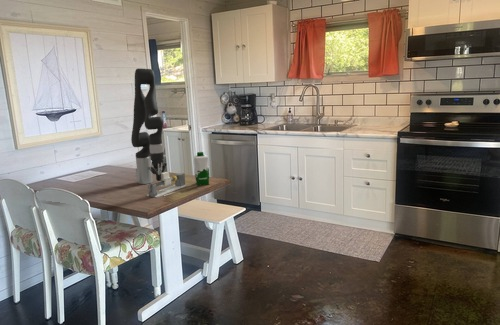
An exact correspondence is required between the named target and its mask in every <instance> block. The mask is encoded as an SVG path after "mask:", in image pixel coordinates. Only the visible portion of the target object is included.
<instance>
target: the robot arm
mask: <svg viewBox="0 0 500 325" xmlns="http://www.w3.org/2000/svg"><path fill="white" fill-rule="evenodd" d="M155 77H156V76H155V71H154V70H153V69H151V68H136V69H135V71H134V98H133V99H134V103H133V118H132V119H133V123H132V131H131V138H130V139H131V140H130V141H131V145H132V146H133V147H134V148H141V149H140V150H139V151H137V152H136V153H135V161H136V163H135V164H136V169H135V174H136V182H137V184H139V185H146V184H147V185H149V184H152V183H153V175H155V179H156V181H157V182H160V181H161V174H162V173H164V172H165V169H166V167H167V165H168V163H165V162H164V159H165V158H164V146H163V136H162V134H163V128H164V124H165V123H164V119H163V117H161V116H156V115H157V114H159V109H158V102H157V90H156V78H155ZM142 85H149V89H148V92H147V93H146V95H145V94H144V92H143V90H142ZM143 125H144V127H145V128H146V130H149V131H150V130H156V131H155V132H154V133H153V132H152V133H150V134H149V133H148V132H147V131H141V129H142V127H143Z"/></svg>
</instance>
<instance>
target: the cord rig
mask: <svg viewBox="0 0 500 325" xmlns="http://www.w3.org/2000/svg"><path fill="white" fill-rule="evenodd" d="M171 182H174V184H173V185H170V186H168V187H164V188H162V189H160V190H158V187H160V185H162V184H164V181H162V182H160V181H158V182H157V183H154V184H152V183H148V184H147V188H148V189H147V190H148V194H146V197H151V198H160V197H162V196H165V195H168V194H171V193H172V192H173V193H174V192H176V191H178V190H180V189H183V188H185V187H187V184H186V176H185V173H182V172H176V173H174V174H173V175H172V176H171Z"/></svg>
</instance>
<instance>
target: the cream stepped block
mask: <svg viewBox="0 0 500 325" xmlns="http://www.w3.org/2000/svg"><path fill="white" fill-rule="evenodd" d="M171 178H172V176H171V177H170V171H169V172H168V171H164V172H162V174H161V181H159V182H162V181H164V184H162V185H159V187H162V188H167V187H170V186H173V185H172V181H171Z"/></svg>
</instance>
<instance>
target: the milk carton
mask: <svg viewBox="0 0 500 325" xmlns="http://www.w3.org/2000/svg"><path fill="white" fill-rule="evenodd" d="M193 162H194V163H193V164H194V177H195V182H196V185H197V186H209V185H210V169H209V168H210V166H209V156H208V155H207V154H205V153H204V152H203V151H199V152H197V153H196V155H194V156H193Z"/></svg>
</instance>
